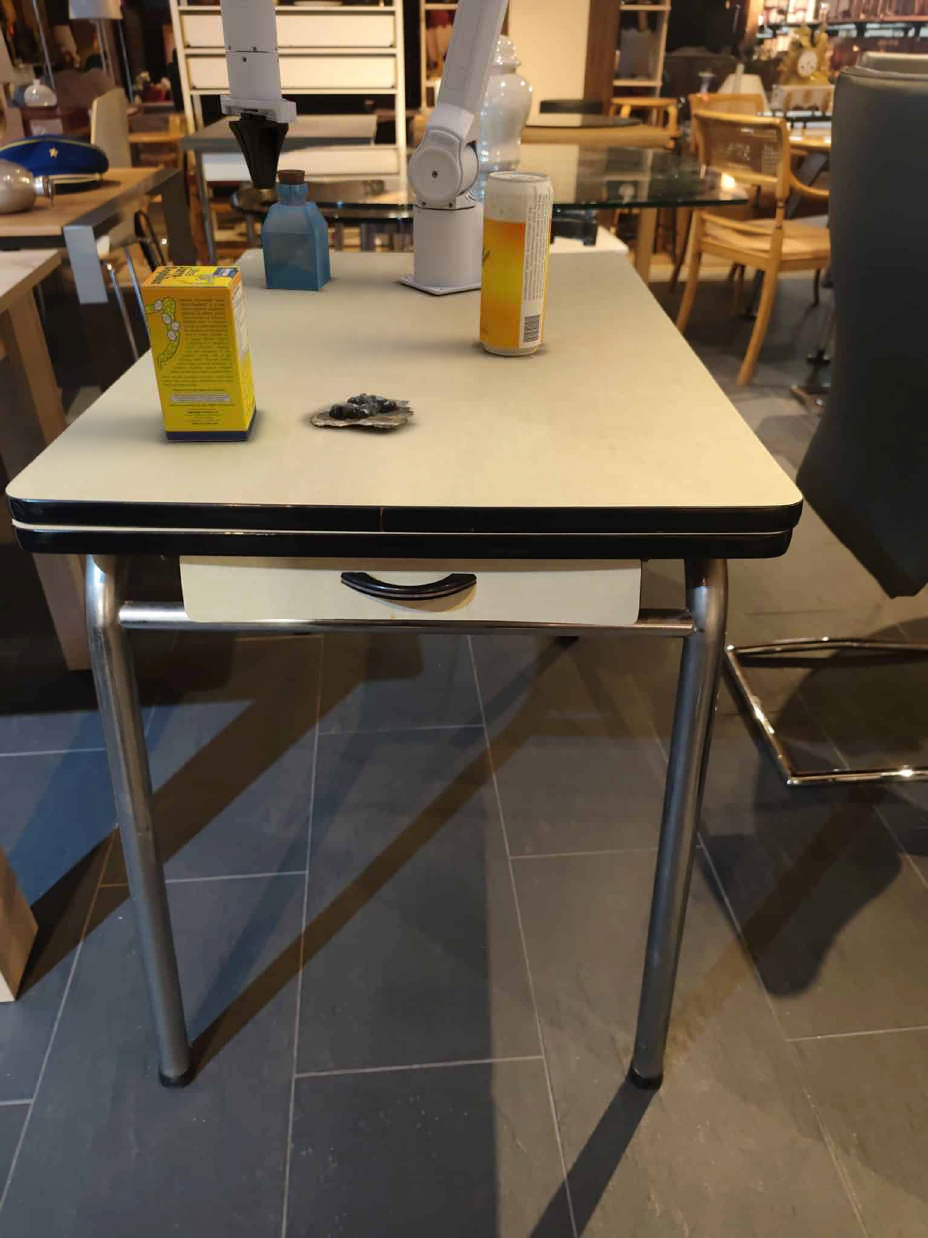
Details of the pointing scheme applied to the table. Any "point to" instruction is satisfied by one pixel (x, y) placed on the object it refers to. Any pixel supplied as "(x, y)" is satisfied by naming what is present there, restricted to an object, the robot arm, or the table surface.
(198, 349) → the supplement box
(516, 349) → the beer can
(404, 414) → the grey flat lumpy piece
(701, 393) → the table surface
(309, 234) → the perfume bottle
